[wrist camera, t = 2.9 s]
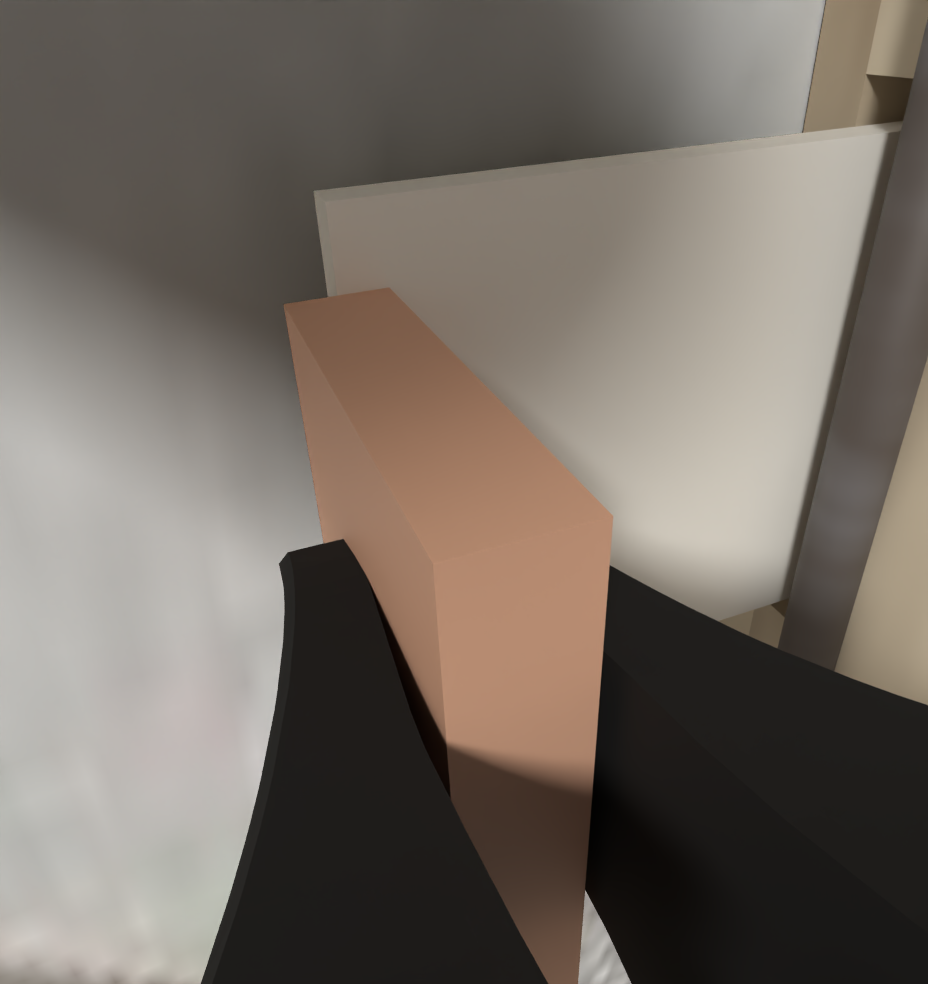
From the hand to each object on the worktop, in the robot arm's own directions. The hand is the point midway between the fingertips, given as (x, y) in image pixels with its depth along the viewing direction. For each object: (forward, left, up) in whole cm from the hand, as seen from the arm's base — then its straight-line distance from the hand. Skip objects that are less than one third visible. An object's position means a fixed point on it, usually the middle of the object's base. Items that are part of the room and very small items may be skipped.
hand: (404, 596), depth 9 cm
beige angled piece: (-7, 0, -2) cm, 7 cm away
